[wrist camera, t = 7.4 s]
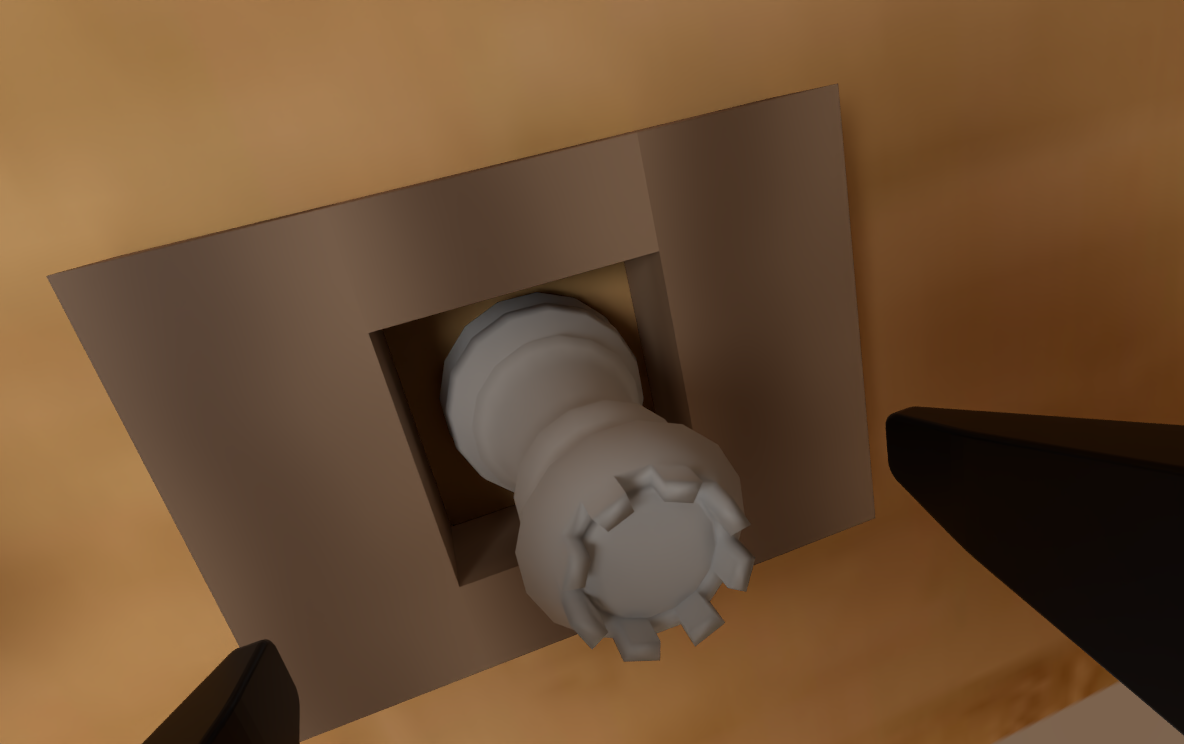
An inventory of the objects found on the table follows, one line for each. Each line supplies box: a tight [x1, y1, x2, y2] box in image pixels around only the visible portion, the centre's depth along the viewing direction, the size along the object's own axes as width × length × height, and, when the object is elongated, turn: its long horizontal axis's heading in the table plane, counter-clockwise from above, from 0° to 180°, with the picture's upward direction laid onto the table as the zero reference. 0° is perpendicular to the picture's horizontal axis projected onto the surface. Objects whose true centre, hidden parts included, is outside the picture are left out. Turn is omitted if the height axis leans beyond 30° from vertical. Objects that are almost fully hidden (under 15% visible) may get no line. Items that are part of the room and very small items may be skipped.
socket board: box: [47, 84, 875, 742], centre depth 14 cm, size 14×10×2 cm
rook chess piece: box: [439, 292, 755, 661], centre depth 12 cm, size 4×4×8 cm
